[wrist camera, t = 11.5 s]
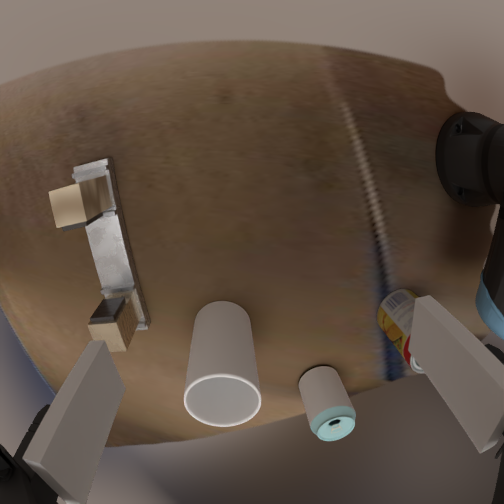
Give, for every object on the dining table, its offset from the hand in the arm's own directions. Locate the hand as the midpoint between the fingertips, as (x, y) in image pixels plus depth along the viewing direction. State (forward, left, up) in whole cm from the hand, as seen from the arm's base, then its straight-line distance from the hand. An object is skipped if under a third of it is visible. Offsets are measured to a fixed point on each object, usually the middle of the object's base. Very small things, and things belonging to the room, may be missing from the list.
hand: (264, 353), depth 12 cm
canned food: (-23, +20, -30) cm, 43 cm away
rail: (+18, +3, -30) cm, 35 cm away
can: (-9, +31, -30) cm, 44 cm away
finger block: (+18, -5, -28) cm, 33 cm away
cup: (+5, +17, -30) cm, 35 cm away
